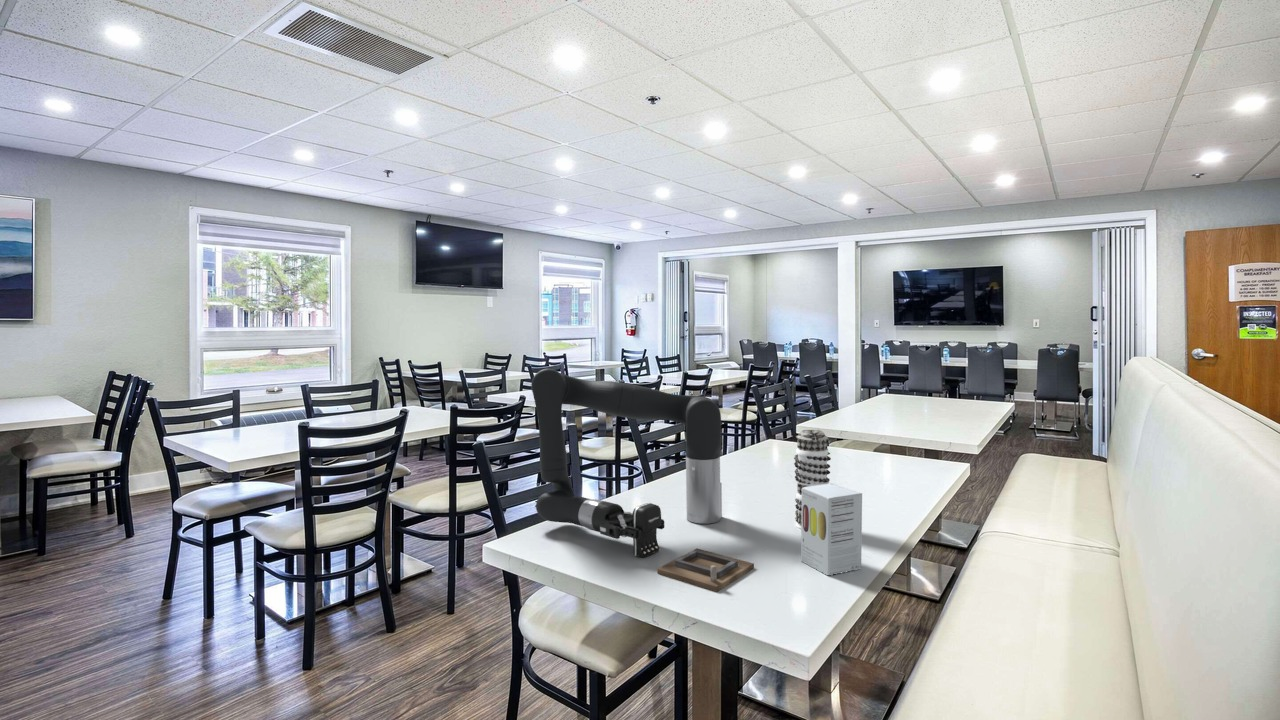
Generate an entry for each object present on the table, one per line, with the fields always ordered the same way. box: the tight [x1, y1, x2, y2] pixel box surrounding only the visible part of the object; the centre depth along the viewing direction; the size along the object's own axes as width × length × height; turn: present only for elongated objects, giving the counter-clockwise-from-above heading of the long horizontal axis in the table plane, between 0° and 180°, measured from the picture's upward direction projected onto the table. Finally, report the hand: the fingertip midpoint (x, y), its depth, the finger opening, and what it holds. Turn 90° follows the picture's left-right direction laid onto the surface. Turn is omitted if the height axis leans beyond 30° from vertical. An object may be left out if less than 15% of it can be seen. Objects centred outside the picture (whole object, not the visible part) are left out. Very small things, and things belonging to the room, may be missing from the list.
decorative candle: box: [793, 429, 832, 530], centre depth 159 cm, size 9×9×25 cm
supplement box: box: [800, 482, 863, 576], centre depth 134 cm, size 10×9×17 cm
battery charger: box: [632, 502, 662, 558], centre depth 142 cm, size 7×4×11 cm, turn 139°
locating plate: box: [656, 548, 755, 593], centre depth 132 cm, size 15×15×4 cm
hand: (652, 529), depth 141 cm, fingers open, 8 cm apart
